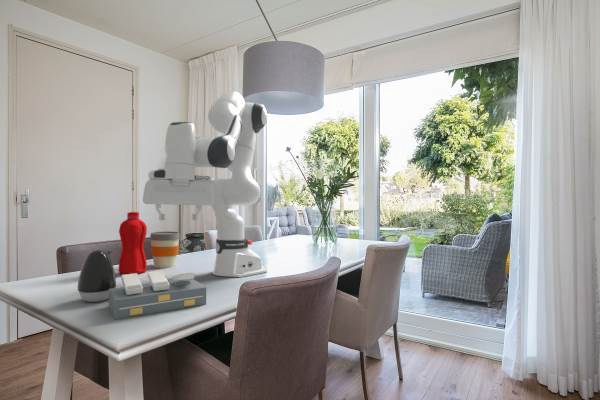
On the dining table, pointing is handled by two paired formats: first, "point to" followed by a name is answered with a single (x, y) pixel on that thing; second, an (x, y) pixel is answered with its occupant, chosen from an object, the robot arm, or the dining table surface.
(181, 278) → the rocker
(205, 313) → the dining table surface
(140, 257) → the water bottle
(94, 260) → the black rounded dome
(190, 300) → the console
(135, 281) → the rocker
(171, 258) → the reusable coffee cup
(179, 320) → the dining table surface
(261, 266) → the robot arm
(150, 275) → the block
